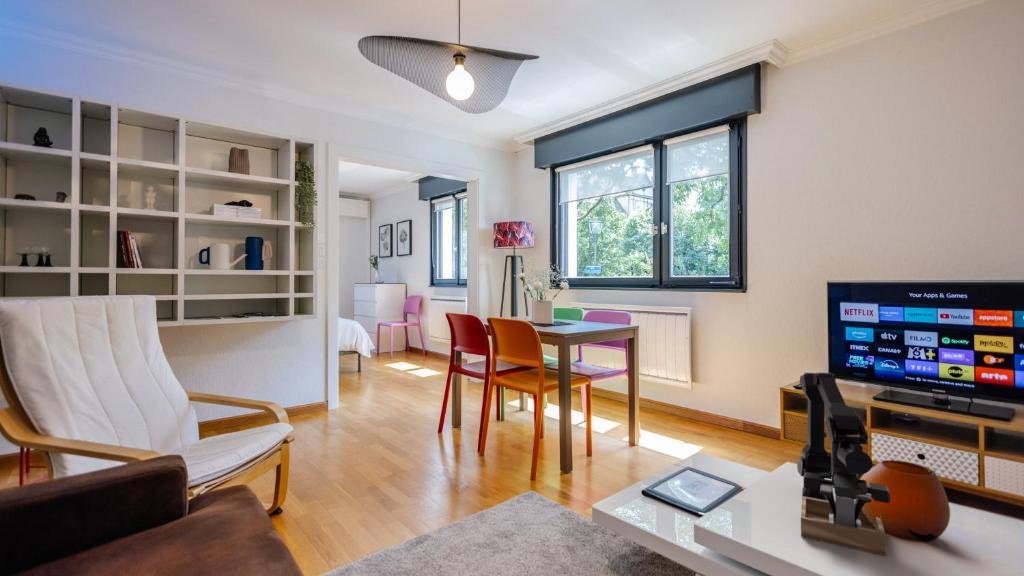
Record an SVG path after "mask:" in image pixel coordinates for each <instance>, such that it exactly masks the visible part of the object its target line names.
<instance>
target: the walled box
mask: <svg viewBox="0 0 1024 576" xmlns="http://www.w3.org/2000/svg"><path fill="white" fill-rule="evenodd" d="M835 507H836V501H835ZM800 509H801V510H800V537H801V538H805V539H809V540H813V541H819V542H822V543H829V544H833V545H836V546H839V547H840V546H841V547H845V548H849V549H853V550H859V551H862V552H867V553H871V554H876V555H879V556H880V555H881V556H885V557H886V556H887V539H886V537H887V536H886V532H885V528H884V525H883V522H882V519H880V518H881V517H880V518H878V517H876V521H875V526H873V524H872V523H871V522H870V521H869V520H868V518H867V517H866V515H865V514H864V513H863V511H862V509H861V511H860V513H859V516H858V518H857V520H856V521H855V528H854V527H849V526H844V525H840V524H836V517H834V514H833V511H832V509H831V506H830V503H829V501H828V500H824V499H819V498H813V497H808V496H803V495H802V496H801V508H800Z"/></svg>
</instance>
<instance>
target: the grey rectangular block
mask: <svg viewBox="0 0 1024 576" xmlns="http://www.w3.org/2000/svg"><path fill="white" fill-rule="evenodd" d="M834 495H835V494H834ZM834 500H835V502H836V524H840V525H844V526H849V527H854V528H855V499H851V498H847V497H839V496H836V495H835V496H834Z"/></svg>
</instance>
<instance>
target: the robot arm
mask: <svg viewBox="0 0 1024 576" xmlns="http://www.w3.org/2000/svg"><path fill="white" fill-rule="evenodd" d="M799 385H800V387H801V390H802V393H803V395H804V396H805V398H806V399H807V443H806V445H805V446H804V447H803V448H802V450H801V456H799V459H798V462H797V464H796V466H797V472H798V474H799V475H800V477H803V487H802V492H801V493H802V494H801V495H802V496H804V497H809V498H814V499H820V500H825V501H829V503H830V506H831V509H832V511H833V514H834V517H836V507H835V502H836V499H835V496H834V495H836V496H839V497H847V498H851V499H854V500H855V521H856V520H857V518H858V516H859V513H860V511H861V509H862V508H864V506H865V505H866V504H867V503H872V499H873V501H875V502H879V503H884V504H890V503H891V493H890V490H889V487H887V485H885V484H881V483H875V482H868V486H867V480H866V479H860V478H859V476H858V475H865V474H866V473H868V472H870V470H872V468H873V461H872V458H871V457H870V455H869V454H867V452H865V451H864V449H863V446H862V445H868V440H869V436H868V433H867V430H866V428H865V425H864V423H863V420H862V419H861V418H860V417H859V415H858V414H857V412H856V410H854V409H853V408H852V407H850V406H848V405H847V403H846V401H845V399H844V398H843V396H842V395H843V394H842V393H841V391H840V389H839V386H838V385H837V381H836V375H835V374H834V373H831V372H804V373H803V374H802V375H800V377H799ZM825 408H826V410H827V414H826V415H825V411H826V410H825ZM825 426H826V431H827V434H828V436H829V439H830V441H831V442H830V443H831V444H830V446H831V447H830V448H831V449H830V450H831V456H830V454H829V453H828V451H827V449H826V448H825ZM833 490H834V491H833Z"/></svg>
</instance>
